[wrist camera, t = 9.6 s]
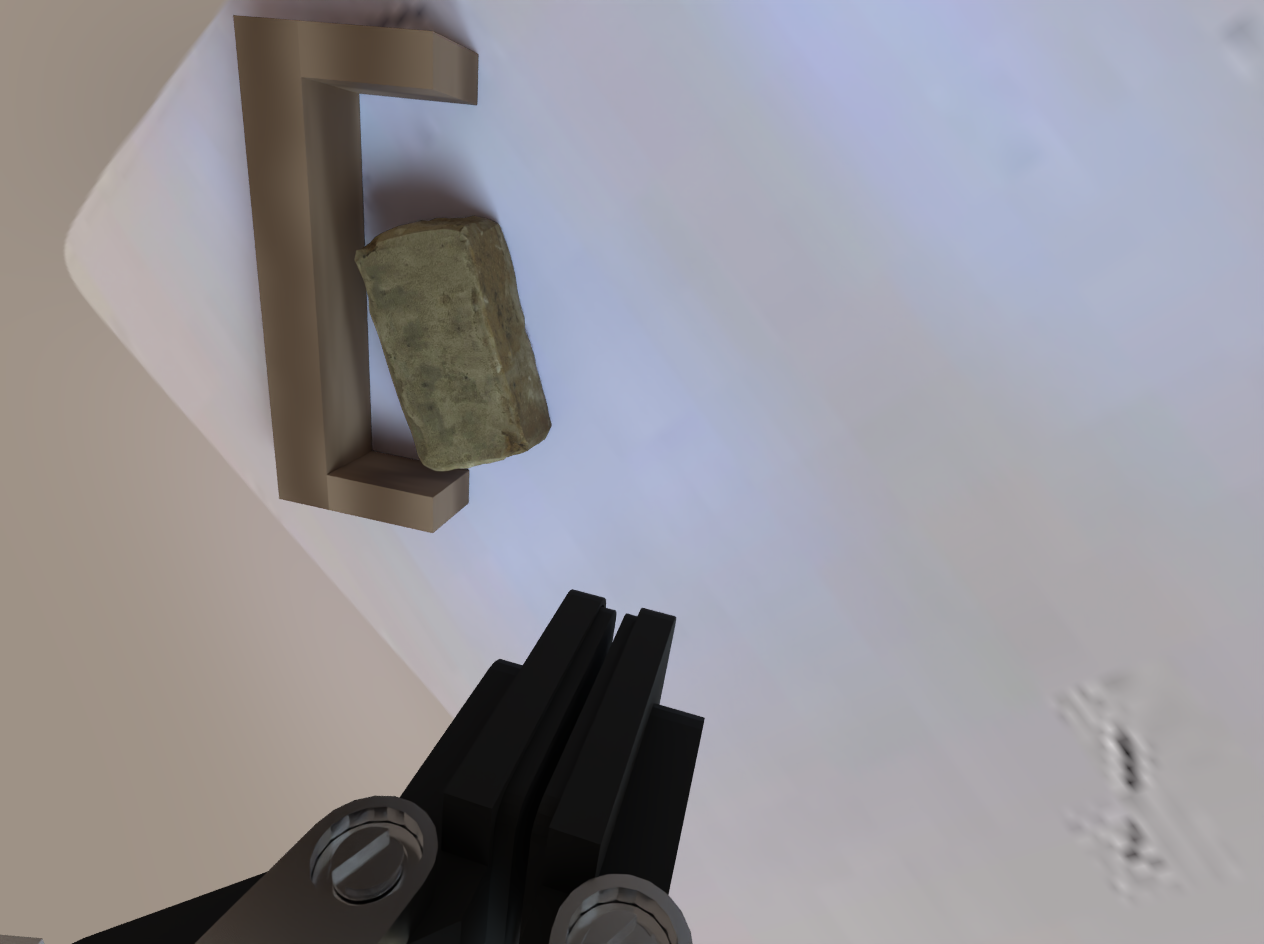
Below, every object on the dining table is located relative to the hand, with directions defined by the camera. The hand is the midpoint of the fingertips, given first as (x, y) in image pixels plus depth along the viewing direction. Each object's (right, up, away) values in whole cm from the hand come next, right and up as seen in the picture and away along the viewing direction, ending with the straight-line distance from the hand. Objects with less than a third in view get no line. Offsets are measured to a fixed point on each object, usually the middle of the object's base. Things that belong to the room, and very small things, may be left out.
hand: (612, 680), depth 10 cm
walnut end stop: (-12, +12, +24) cm, 30 cm away
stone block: (-7, +10, +24) cm, 27 cm away
